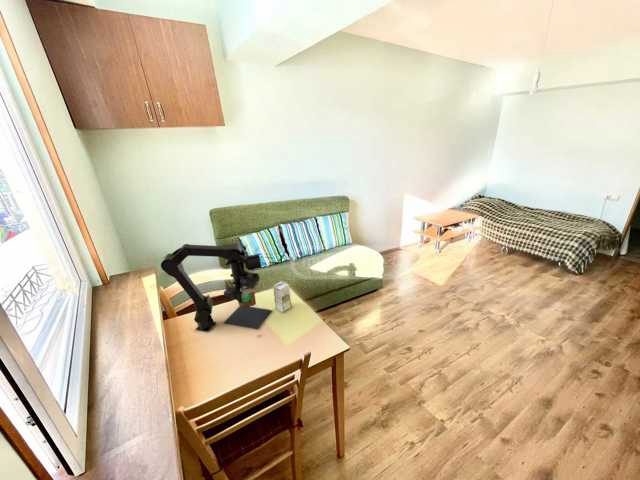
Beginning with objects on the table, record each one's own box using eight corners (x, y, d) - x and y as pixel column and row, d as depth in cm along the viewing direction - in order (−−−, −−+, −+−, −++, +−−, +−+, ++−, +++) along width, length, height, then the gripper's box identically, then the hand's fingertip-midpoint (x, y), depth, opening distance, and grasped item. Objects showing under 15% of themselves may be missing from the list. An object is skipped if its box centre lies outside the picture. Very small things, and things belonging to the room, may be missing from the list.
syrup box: (284, 303, 150) (280, 280, 143) (291, 307, 147) (288, 284, 140) (275, 308, 146) (272, 285, 139) (283, 312, 143) (280, 289, 136)
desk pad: (224, 323, 136) (224, 322, 135) (240, 306, 148) (240, 305, 147) (257, 329, 132) (257, 327, 131) (271, 311, 144) (271, 310, 143)
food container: (230, 304, 135) (226, 286, 131) (240, 298, 140) (236, 281, 136) (248, 311, 130) (243, 293, 125) (258, 304, 134) (254, 287, 130)
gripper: (242, 283, 117) (248, 313, 124) (264, 263, 133) (269, 291, 140) (219, 280, 119) (226, 309, 126) (244, 261, 135) (249, 288, 142)
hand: (244, 299), depth 134 cm, fingers closed on food container, 6 cm apart
